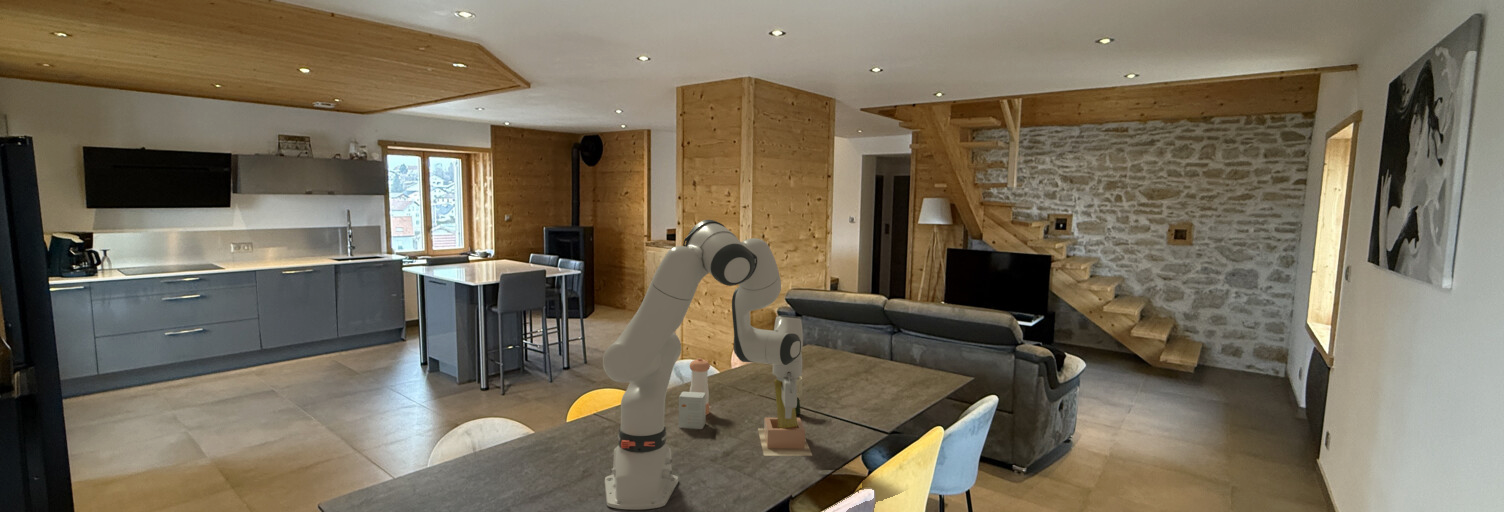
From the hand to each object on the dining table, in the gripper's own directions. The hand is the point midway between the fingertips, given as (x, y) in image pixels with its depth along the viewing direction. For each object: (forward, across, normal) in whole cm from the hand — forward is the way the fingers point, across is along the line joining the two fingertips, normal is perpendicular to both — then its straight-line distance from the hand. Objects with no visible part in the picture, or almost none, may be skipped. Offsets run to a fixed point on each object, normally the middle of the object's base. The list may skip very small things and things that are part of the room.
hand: (786, 413), depth 196 cm
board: (+10, 0, +1) cm, 10 cm away
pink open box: (+9, 0, +1) cm, 9 cm away
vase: (+4, -2, 0) cm, 4 cm away
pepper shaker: (+10, +29, +27) cm, 41 cm away
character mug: (+10, +28, -5) cm, 30 cm away
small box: (+10, +16, +29) cm, 34 cm away
